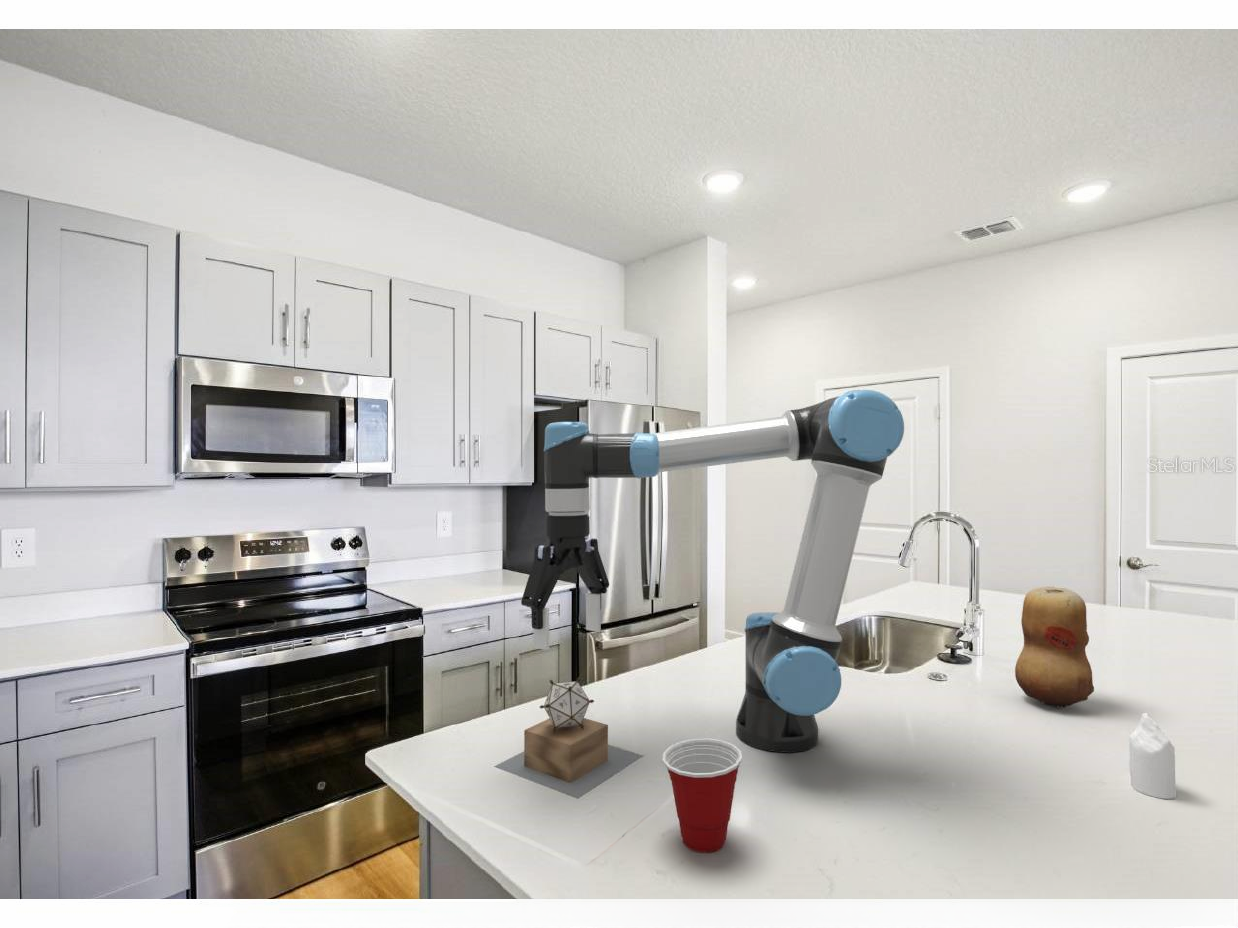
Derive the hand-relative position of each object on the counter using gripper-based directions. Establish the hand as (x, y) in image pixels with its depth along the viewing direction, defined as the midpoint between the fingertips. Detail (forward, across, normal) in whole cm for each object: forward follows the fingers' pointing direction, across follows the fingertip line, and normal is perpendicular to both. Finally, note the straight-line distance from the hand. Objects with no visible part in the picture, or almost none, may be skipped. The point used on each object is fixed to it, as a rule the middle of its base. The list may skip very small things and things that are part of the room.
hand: (568, 639), depth 110 cm
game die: (+15, 0, 0) cm, 15 cm away
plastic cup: (+22, +6, +28) cm, 37 cm away
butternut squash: (+23, -83, +66) cm, 108 cm away
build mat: (+22, -1, 0) cm, 22 cm away
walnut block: (+21, 0, 0) cm, 21 cm away
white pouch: (+23, -48, +80) cm, 96 cm away
